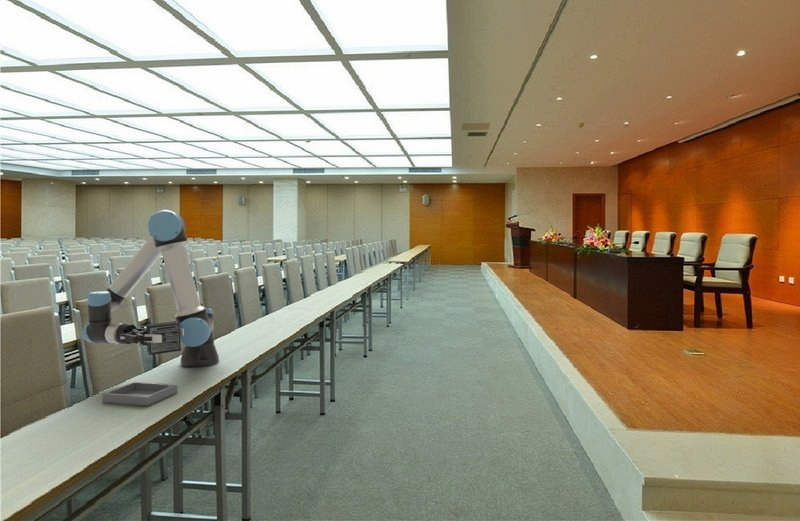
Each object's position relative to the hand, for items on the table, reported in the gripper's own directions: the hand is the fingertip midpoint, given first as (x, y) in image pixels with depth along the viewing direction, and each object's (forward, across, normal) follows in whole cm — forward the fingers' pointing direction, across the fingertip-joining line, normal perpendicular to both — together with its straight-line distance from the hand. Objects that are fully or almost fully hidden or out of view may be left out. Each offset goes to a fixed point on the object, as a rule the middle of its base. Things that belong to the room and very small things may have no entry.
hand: (172, 335), depth 186 cm
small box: (-4, 0, -6) cm, 7 cm away
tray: (+1, +18, -17) cm, 25 cm away
